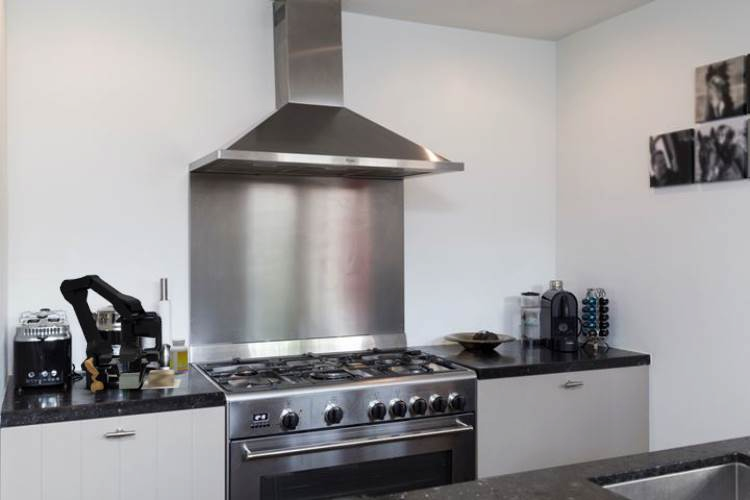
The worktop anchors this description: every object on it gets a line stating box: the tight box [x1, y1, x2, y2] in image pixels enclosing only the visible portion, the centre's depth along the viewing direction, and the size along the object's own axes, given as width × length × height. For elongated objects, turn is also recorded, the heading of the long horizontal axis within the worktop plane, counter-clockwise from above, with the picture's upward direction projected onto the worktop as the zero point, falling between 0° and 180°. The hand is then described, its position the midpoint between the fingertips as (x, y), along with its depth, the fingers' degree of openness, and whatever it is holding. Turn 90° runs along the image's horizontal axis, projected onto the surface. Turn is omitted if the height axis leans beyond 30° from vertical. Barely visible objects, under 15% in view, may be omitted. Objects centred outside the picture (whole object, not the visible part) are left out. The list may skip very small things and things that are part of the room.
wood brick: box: [147, 369, 176, 387], centre depth 245 cm, size 8×8×4 cm
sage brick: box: [118, 372, 142, 390], centre depth 241 cm, size 6×6×4 cm
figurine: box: [85, 358, 105, 393], centre depth 237 cm, size 8×6×12 cm
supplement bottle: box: [169, 338, 189, 374], centre depth 271 cm, size 7×7×13 cm
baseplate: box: [140, 378, 182, 390], centre depth 245 cm, size 12×14×2 cm
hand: (130, 382), depth 241 cm, fingers closed on sage brick, 6 cm apart
